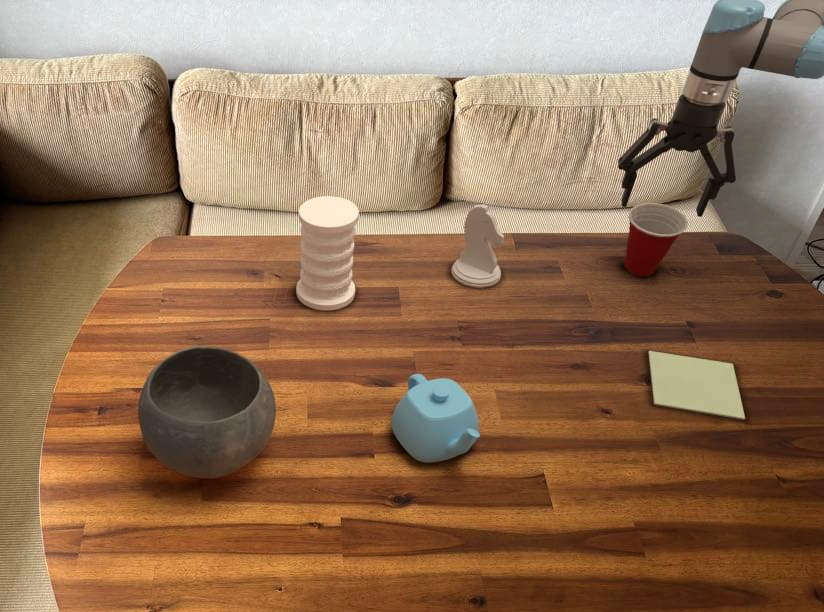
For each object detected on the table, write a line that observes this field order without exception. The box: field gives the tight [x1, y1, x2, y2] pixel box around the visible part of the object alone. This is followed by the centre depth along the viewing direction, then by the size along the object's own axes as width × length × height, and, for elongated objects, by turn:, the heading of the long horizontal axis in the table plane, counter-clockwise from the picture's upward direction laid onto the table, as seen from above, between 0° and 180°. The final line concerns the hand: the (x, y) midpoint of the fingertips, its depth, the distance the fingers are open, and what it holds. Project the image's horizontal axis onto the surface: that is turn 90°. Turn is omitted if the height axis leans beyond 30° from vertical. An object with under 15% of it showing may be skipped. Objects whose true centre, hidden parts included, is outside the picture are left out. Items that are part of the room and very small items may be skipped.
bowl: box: [137, 345, 277, 479], centre depth 116 cm, size 20×20×15 cm
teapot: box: [390, 373, 481, 463], centre depth 119 cm, size 13×11×18 cm
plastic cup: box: [624, 202, 689, 277], centre depth 152 cm, size 11×11×12 cm
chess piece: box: [450, 203, 505, 289], centre depth 151 cm, size 10×10×15 cm
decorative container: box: [295, 195, 360, 311], centre depth 145 cm, size 12×12×18 cm
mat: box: [647, 350, 746, 421], centre depth 132 cm, size 14×14×1 cm
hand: (660, 208), depth 147 cm, fingers open, 13 cm apart
